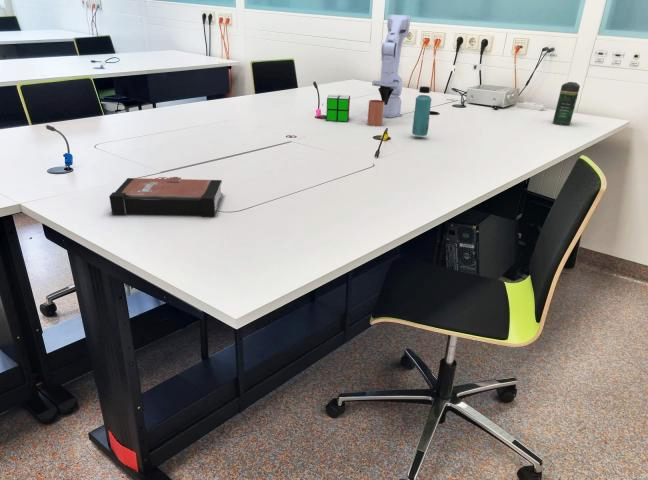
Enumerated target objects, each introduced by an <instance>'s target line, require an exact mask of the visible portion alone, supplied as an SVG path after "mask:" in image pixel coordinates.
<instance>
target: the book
mask: <svg viewBox="0 0 648 480" xmlns="http://www.w3.org/2000/svg"><path fill="white" fill-rule="evenodd" d="M222 184H223V180H222V179H191V178H190V179H186V178H182V177H178V176H173V177H171V176H170V177H169V178H145V177H144V178H140V177H127V178H126V179H125V180H124V181H123V183H122V184H121V185H120V186H119V187H118V188H117V189H116V190H115V192H114V191H113V192H112V193H111V194H110V195H109V196H108V197H109V203H110V209H111V215H112V216H126V215H136V216H137V215H139V216H142V215H144V216H187V217H188V216H190V217H191V216H192V217H202V218H215V217H216V216H217V215H216V214H217V212H218V209H219V208H220V207H219V206H220V204H221V201H222V198H223V196H224V194H223V192H222V187H221V186H222Z"/></svg>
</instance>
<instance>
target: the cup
mask: <svg viewBox="0 0 648 480" xmlns="http://www.w3.org/2000/svg"><path fill="white" fill-rule="evenodd" d="M383 113H384V101H382V99H370V100H368V108H367V121H366V123H367V124H366V125H368V126H371V127H381V126H383V123H384V116H383Z"/></svg>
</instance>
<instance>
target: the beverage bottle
mask: <svg viewBox="0 0 648 480" xmlns="http://www.w3.org/2000/svg"><path fill="white" fill-rule="evenodd" d="M418 90H419V91H418V92H419V93H420V95H417V96H416V97H415V104H414V112H413V122H412V128H411V133H412V135H413V136H416V137H425V136H427V135H428V132H429V124H430V116H431V115H430V114H431V107H432V106H431V105H432V97H430V96H429V95H426V94H430V92H431V88H430V86H419V89H418Z"/></svg>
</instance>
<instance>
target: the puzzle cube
mask: <svg viewBox="0 0 648 480" xmlns="http://www.w3.org/2000/svg"><path fill="white" fill-rule="evenodd" d="M350 106H351V95H347V94H346V95H345V94H329V95H328V96H327V98H326V112H325V113H326V114H325V116H326V117H325V118H326V119H325V120H326V121H327V122H345V123H347V122H348V121H349V118H350Z"/></svg>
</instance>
